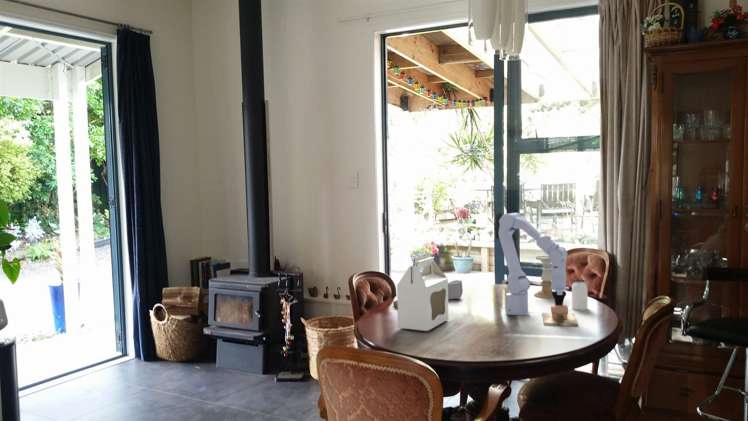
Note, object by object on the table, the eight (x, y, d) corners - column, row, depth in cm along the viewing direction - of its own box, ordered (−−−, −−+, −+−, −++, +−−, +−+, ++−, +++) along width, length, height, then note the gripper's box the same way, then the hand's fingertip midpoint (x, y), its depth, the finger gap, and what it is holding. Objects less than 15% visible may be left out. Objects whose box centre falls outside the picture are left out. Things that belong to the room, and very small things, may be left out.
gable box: (427, 331, 217) (426, 259, 216) (397, 328, 224) (395, 258, 223) (448, 319, 237) (447, 253, 235) (420, 316, 243) (419, 252, 242)
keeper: (551, 318, 227) (551, 307, 227) (551, 315, 232) (550, 304, 232) (568, 319, 226) (568, 307, 225) (567, 316, 230) (567, 305, 230)
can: (588, 311, 245) (588, 283, 245) (573, 310, 247) (572, 283, 246) (586, 307, 252) (585, 281, 251) (571, 307, 253) (570, 281, 252)
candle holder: (539, 294, 286) (538, 255, 285) (563, 296, 279) (562, 256, 278) (530, 298, 276) (530, 257, 275) (555, 300, 269) (554, 259, 268)
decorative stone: (468, 291, 279) (457, 273, 280) (467, 293, 272) (456, 276, 273) (443, 305, 282) (433, 288, 283) (442, 308, 276) (431, 291, 276)
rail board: (543, 325, 223) (543, 315, 222) (542, 314, 240) (542, 305, 240) (578, 326, 219) (578, 316, 219) (574, 316, 237) (574, 306, 236)
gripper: (570, 279, 224) (570, 313, 224) (567, 274, 238) (567, 305, 238) (551, 279, 226) (552, 312, 226) (550, 273, 240) (550, 305, 240)
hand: (558, 309), depth 232 cm, fingers closed
